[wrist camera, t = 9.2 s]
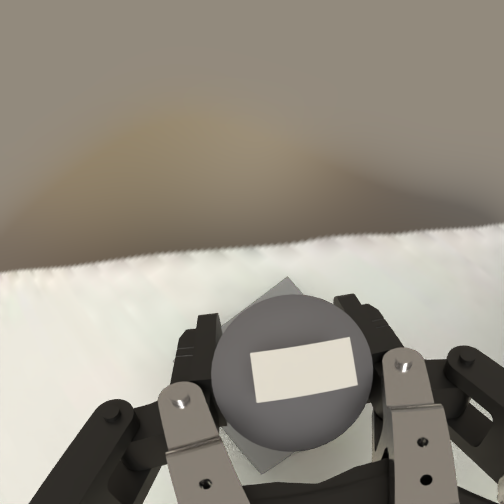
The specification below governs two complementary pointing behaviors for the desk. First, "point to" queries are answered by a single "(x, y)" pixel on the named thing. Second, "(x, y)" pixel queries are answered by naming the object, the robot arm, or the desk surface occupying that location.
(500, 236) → the desk surface
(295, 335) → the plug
